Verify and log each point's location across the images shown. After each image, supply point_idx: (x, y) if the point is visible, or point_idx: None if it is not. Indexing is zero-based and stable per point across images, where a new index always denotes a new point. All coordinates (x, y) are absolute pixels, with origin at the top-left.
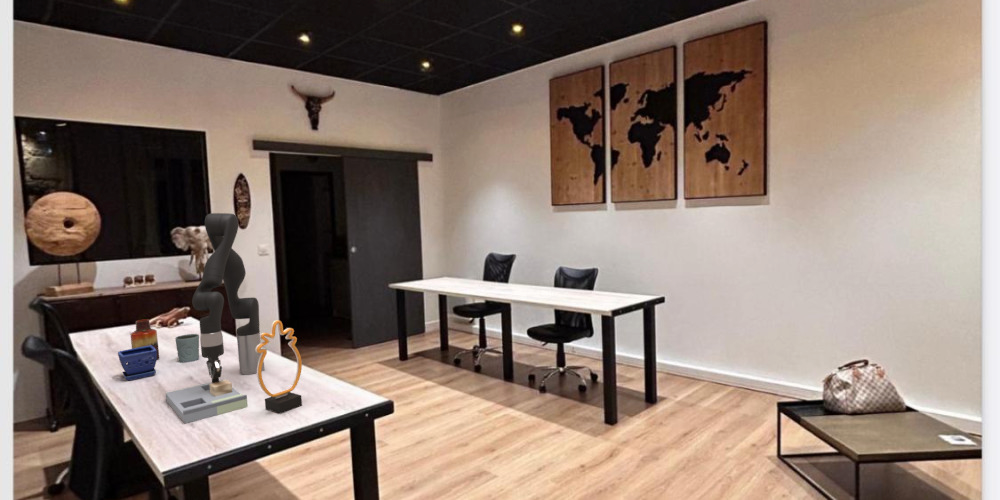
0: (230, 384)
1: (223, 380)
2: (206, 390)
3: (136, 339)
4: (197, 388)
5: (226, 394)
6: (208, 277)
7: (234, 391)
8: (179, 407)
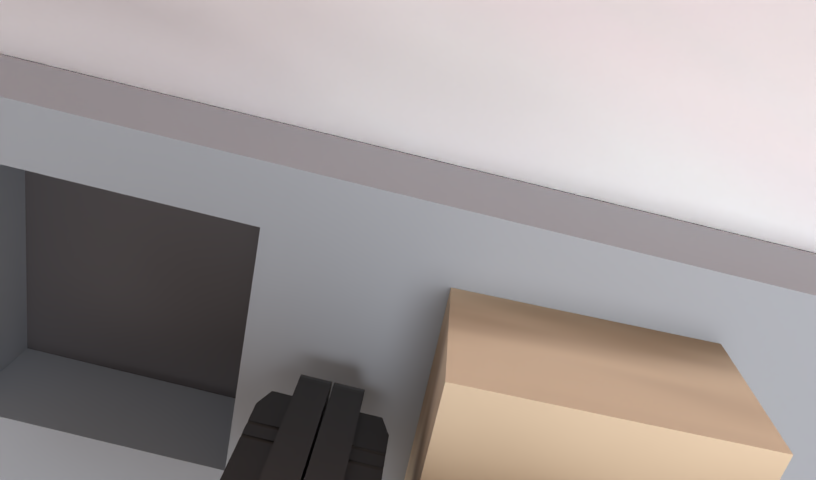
0: (770, 455)
1: (431, 430)
2: None
3: None
4: (23, 463)
5: None
6: None
7: (731, 313)
8: None
